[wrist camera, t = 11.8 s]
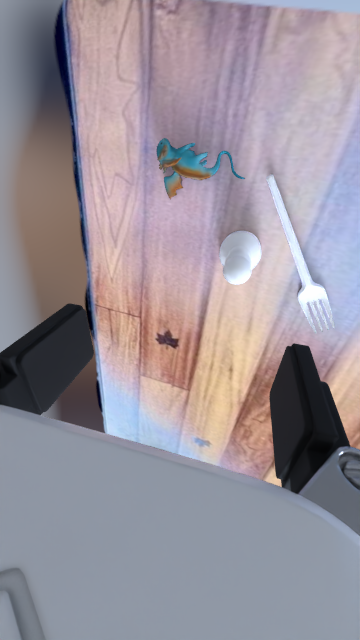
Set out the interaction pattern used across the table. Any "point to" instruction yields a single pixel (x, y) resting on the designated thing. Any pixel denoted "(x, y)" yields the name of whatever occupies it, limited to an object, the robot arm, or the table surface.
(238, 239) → the chess pawn
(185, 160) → the dragon figurine
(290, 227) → the fork
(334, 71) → the table surface
